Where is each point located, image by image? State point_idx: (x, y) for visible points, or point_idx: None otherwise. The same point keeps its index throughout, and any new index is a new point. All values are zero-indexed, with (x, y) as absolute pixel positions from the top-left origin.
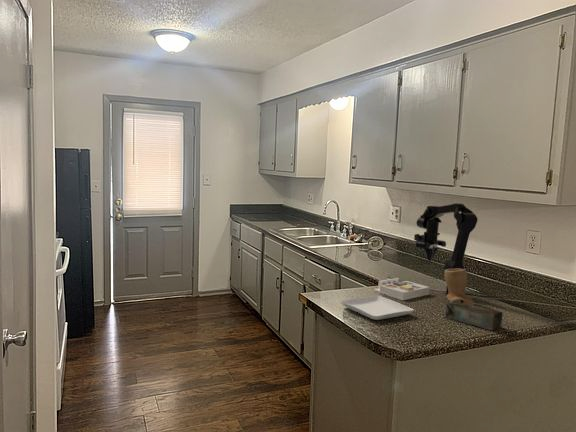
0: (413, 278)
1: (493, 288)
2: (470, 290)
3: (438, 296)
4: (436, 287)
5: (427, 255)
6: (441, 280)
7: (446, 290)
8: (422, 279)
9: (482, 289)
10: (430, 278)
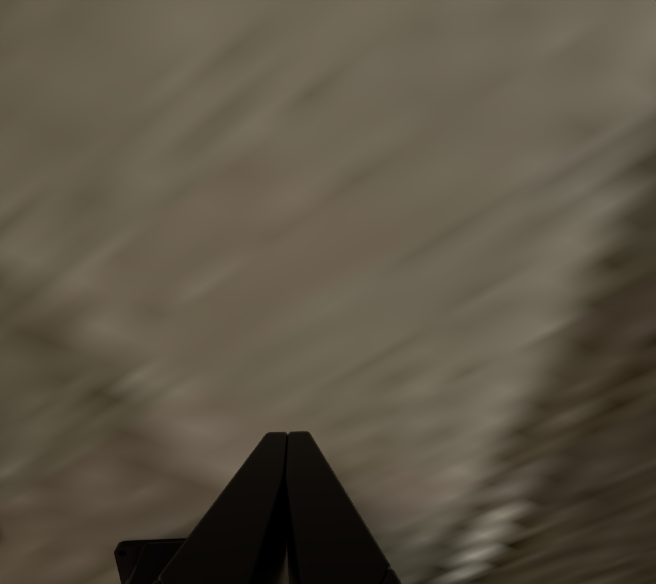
0: (379, 8)
1: (646, 576)
2: (434, 547)
3: (22, 547)
4: (255, 394)
5: (187, 557)
6: (582, 255)
7: (137, 560)
8: (437, 113)
9: (546, 563)
10: (576, 132)
